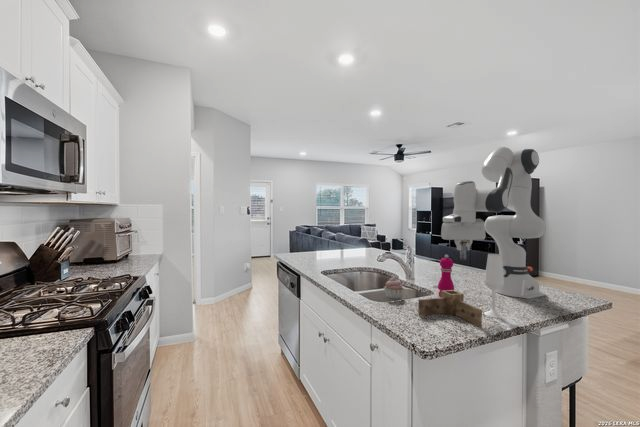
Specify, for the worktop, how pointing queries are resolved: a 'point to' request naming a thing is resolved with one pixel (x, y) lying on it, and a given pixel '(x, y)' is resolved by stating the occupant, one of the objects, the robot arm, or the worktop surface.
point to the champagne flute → (494, 280)
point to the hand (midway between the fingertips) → (463, 250)
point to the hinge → (451, 307)
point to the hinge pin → (463, 249)
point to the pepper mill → (445, 275)
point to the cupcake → (393, 289)
